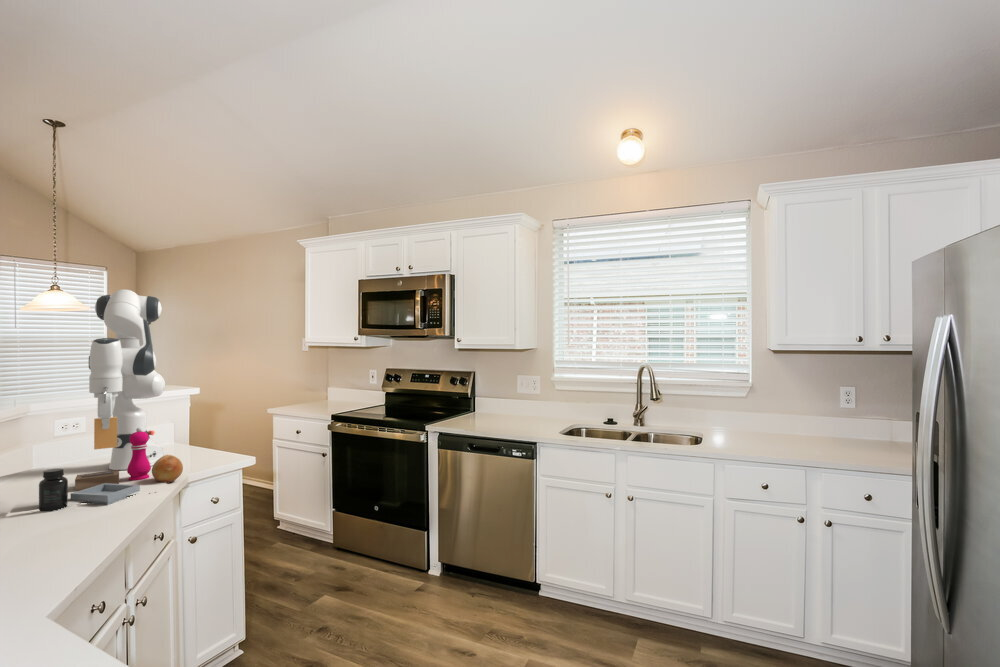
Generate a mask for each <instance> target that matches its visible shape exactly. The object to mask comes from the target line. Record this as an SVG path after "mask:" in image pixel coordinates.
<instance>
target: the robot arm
mask: <svg viewBox="0 0 1000 667" xmlns="http://www.w3.org/2000/svg"><path fill="white" fill-rule="evenodd" d="M94 310H95V314H96V316H97V318H98V319H100V320H101V321H103V322H104V325H105V326H106V327H107V329H108V330H110V331H111V332H113V333H115V338H113V337H103V338H102V337H101V338H96V339H94V340H92V341H91V345H90V351H89V355H88V369H89V370H90V375H89V378H88V379H89V383H88V384H89V385H88V387H89V388H88V389H89V392H88V393H90V394H93V398H94V399H97V418H102V428H103V429H109V421H110V417H117V447H114V448H112V449H111V450H112V451H111V457H110V463H109V466H108V470H111V471H113V470H119V471H124V470H125V471H126V470H127V468H128V465H129V463H130V461H131V459H132V453H133V452H132V449H131V445H132V444H131V443H130V441H129V438H130V436H131V434H133V433H135V432H137V431H136V429H137V428H138V427H140V428H142V431H143V432H146V433H147V434H148V436H149V440H148V441H147V443H146V444H147V448H146V456H147V459H148V461H149V462H150V465H151V467H153V465H154V463H155V462H156V461H157V460H158V459H159V458H161V457H163V456H165V455H164V449H163V446H162V445H161V444H159V443H158V442H156V441H154V440H152V439H151V437H150V436H154V435H155V434H156V432H155V430H152V429H151V430H147V414H146V413H147V412H145V410H144V409H142V408H140V407H138V406H136V405H135V404H134V401H133V400H137V399H140V400H141V399H151V398H156V397H159V396H161V395H162V394H163V392H164V391H165V388H166V380H165V378H164V377H163V376H162V374H160V373H158V372H157V371H156V370H155V369H156V366H157V357H156V353H155V352H154V348H153V338H152V332H151V330H150V325H151V324H152V323H153V322H156V321H157V320H159V318H160V316H161V315H162V312H163V308H162V304H161V301H160V299H159V298H157V297H155V296H151V295H148V296H146V295H145V296H144V295H138V294H137V293H136V292H134V291H133V290H131V289H123V288H122V289H118V290H116V291H114V292H113V293H112V294H104V295H101V296H99V297H98V298H97V299H96V301H95V304H94Z"/></svg>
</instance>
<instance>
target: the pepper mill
mask: <svg viewBox="0 0 1000 667" xmlns="http://www.w3.org/2000/svg"><path fill="white" fill-rule="evenodd" d="M136 431H137V432H135V433H133V434H131V436H130V438H129V441H130V443H131V444H132V445H131V449H132V452H133V453H132V459H131V461H130V463H129V465H128V468H127V469H126V472H127V474H128V475H129V476H128V481H129V482H130V481H131V482H132V481H133V482H134V481H135V482H136V481H142V480H147V479H149V478H150V474H149V472H151V471H152V466H151V465H150V462H149V461H148V459H147V456H146V448H147V444H146V443H147V441H148V440H149V439H150V438H149V437H150V435H149V436H148V434H147V433H146V432H143V431H142V428H140V427H138V428H137V429H136Z"/></svg>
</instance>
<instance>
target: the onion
mask: <svg viewBox="0 0 1000 667" xmlns="http://www.w3.org/2000/svg"><path fill="white" fill-rule="evenodd" d="M183 470H184V466H183V463H182V461H181V460H180V458H178V457H177V456H175V455H172V454H166V455H164V456H163V457H161V458H159V459H158V460H157V461H156V462H155V463H154V465H153V466H151V474H152V477H153V478H154V480H155V481H157V482H162V483H165V482H166V483H170V482H171V483H173V482H174V481H175V480H177V479H178V478H180V477H181V475H182V473H183V472H184V471H183ZM171 483H170V484H171Z"/></svg>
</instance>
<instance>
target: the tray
mask: <svg viewBox="0 0 1000 667" xmlns="http://www.w3.org/2000/svg"><path fill="white" fill-rule="evenodd" d="M140 489H141V484H125V483H119V484H109V483H104V484H101V485H97V486H94V487H91V488H87V489H84V490H81V491H77V492H75V491H74V492H72V493H70V501H80V502H79V504H81V503H94V504H93V505H99V504H106V505H105V506H109V505H111V503H112V504H114V503H113V502H115V503H117V502H116V501H118V502H120V501H119V500H121V501H123V500H125V499H124V498H126V499H128V498H127V497H129V498H131V497H130V496H132V497H134V496H133V495H135V496H137V495H136V494H137V493H138V492H140V491H141V490H140ZM122 499H123V500H122ZM81 501H82V502H81ZM108 504H109V505H108Z"/></svg>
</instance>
